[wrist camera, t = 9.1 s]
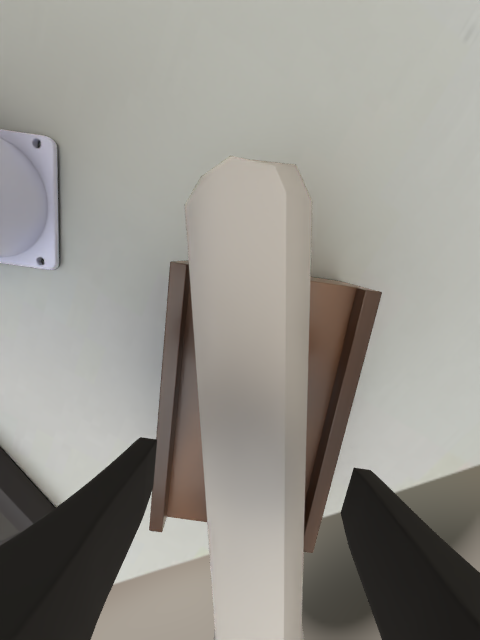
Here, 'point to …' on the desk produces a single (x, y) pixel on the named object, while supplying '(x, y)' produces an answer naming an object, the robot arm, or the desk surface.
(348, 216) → the desk surface
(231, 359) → the tube
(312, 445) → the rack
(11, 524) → the picture frame
